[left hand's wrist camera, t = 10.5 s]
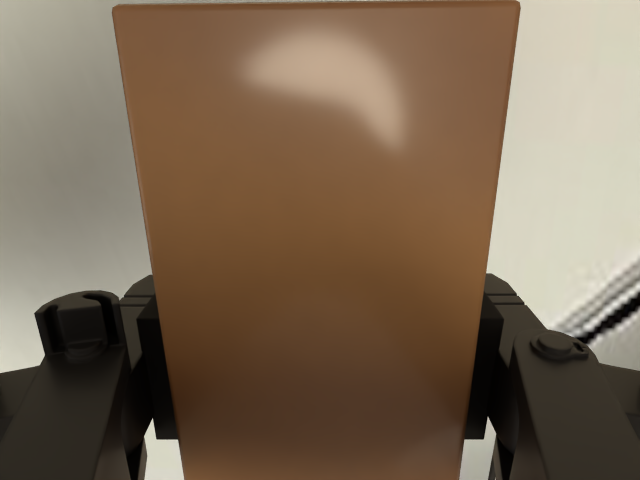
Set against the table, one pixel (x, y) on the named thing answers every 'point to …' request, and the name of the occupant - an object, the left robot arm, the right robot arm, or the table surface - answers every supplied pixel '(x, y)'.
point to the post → (318, 225)
